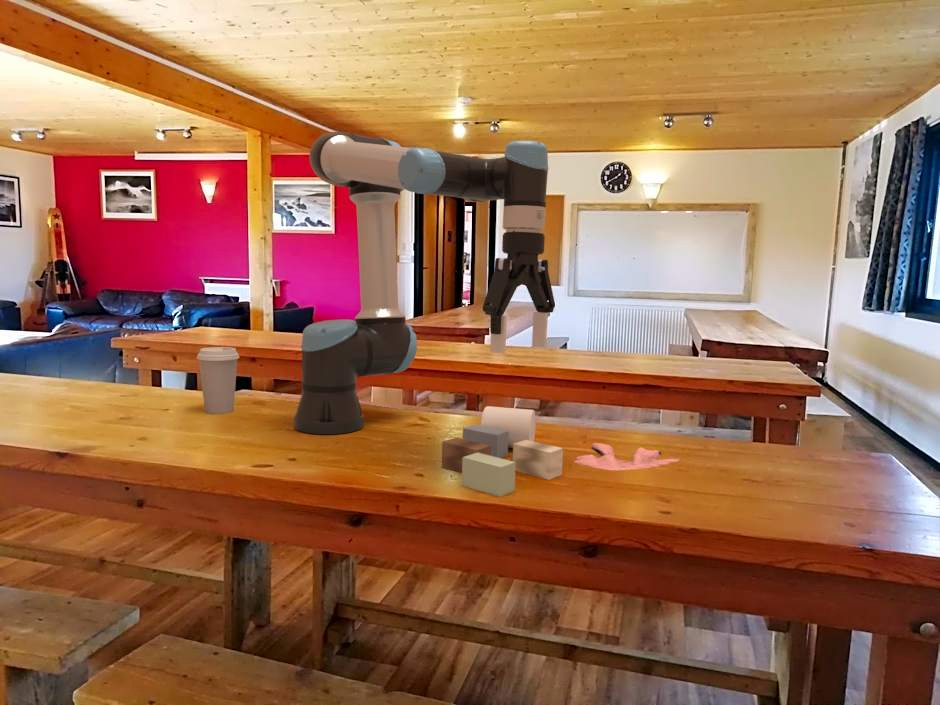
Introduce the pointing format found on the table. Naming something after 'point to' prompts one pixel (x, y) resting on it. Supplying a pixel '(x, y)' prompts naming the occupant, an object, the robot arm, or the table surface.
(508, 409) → the mug
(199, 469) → the table surface
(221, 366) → the coffee cup
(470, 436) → the slate brick
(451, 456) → the walnut brick
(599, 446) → the cloth
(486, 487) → the sage brick
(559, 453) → the birch brick
